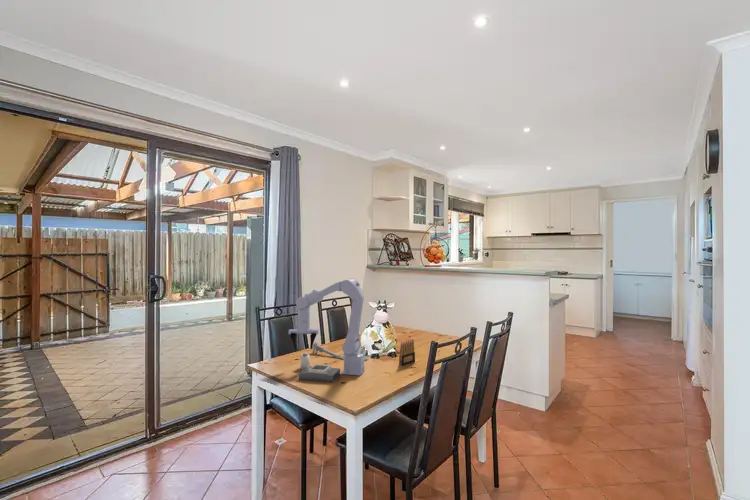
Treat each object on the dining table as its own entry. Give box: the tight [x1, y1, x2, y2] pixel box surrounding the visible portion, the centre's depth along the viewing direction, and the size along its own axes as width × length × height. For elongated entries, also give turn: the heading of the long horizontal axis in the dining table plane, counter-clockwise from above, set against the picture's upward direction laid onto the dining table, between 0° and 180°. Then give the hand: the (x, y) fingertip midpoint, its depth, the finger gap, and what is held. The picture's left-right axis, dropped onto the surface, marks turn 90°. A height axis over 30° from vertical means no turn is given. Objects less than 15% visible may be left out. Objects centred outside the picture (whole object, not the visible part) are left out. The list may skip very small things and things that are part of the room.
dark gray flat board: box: [298, 363, 341, 384], centre depth 162 cm, size 16×10×4 cm, turn 78°
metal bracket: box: [339, 345, 369, 361], centre depth 196 cm, size 14×6×15 cm
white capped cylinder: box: [300, 352, 311, 370], centre depth 176 cm, size 4×4×7 cm
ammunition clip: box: [398, 338, 416, 367], centre depth 184 cm, size 11×2×12 cm, turn 135°
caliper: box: [312, 341, 341, 360], centre depth 197 cm, size 20×1×6 cm, turn 57°
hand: (303, 348), depth 176 cm, fingers open, 7 cm apart
